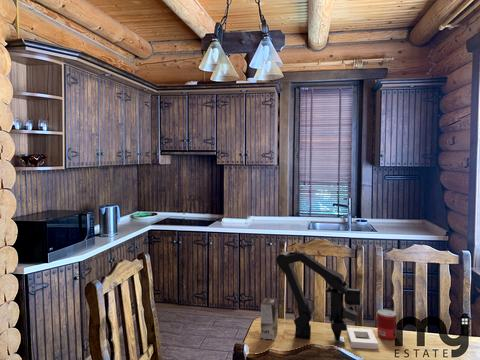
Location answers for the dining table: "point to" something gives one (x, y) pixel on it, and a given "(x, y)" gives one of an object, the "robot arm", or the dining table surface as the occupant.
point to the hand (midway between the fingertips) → (336, 337)
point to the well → (362, 343)
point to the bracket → (340, 342)
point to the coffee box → (269, 318)
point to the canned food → (386, 324)
